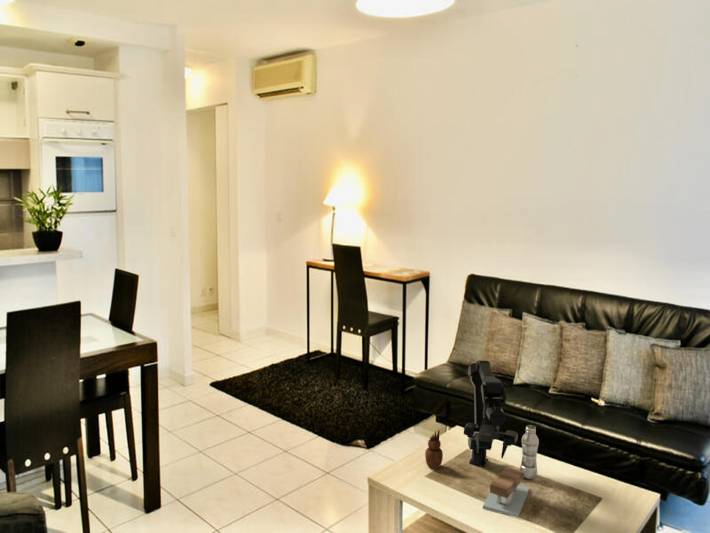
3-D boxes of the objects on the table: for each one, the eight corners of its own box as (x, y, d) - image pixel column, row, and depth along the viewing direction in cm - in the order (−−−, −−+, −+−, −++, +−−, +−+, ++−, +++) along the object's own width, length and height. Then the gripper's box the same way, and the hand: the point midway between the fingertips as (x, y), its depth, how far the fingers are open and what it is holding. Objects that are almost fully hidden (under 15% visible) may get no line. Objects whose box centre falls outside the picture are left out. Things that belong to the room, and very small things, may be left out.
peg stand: (496, 482, 214) (496, 469, 213) (529, 490, 209) (529, 477, 208) (482, 508, 196) (483, 494, 196) (518, 517, 191) (519, 503, 190)
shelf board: (507, 474, 210) (507, 466, 210) (523, 479, 206) (523, 471, 206) (489, 492, 197) (490, 484, 197) (506, 498, 194) (506, 489, 193)
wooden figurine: (441, 463, 229) (442, 427, 227) (442, 470, 223) (443, 433, 221) (424, 462, 229) (425, 427, 227) (425, 469, 224) (426, 433, 222)
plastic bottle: (518, 479, 217) (521, 429, 214) (520, 471, 223) (523, 422, 220) (536, 482, 214) (539, 431, 212) (537, 474, 220) (540, 425, 218)
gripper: (460, 417, 205) (458, 458, 207) (512, 427, 196) (510, 470, 199) (468, 407, 215) (467, 446, 217) (519, 416, 206) (517, 457, 208)
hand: (489, 455), depth 210 cm, fingers open, 9 cm apart
